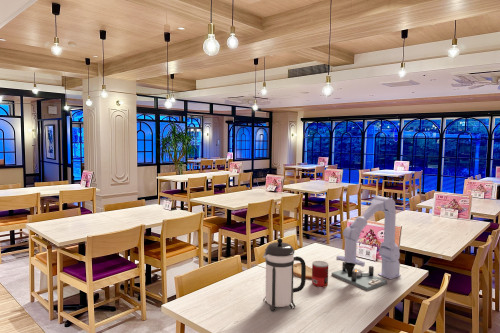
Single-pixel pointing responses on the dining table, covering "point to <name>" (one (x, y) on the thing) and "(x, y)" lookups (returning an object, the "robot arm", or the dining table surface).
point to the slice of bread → (298, 271)
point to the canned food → (320, 273)
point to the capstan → (358, 272)
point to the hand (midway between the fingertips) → (349, 276)
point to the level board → (361, 280)
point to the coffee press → (281, 274)
